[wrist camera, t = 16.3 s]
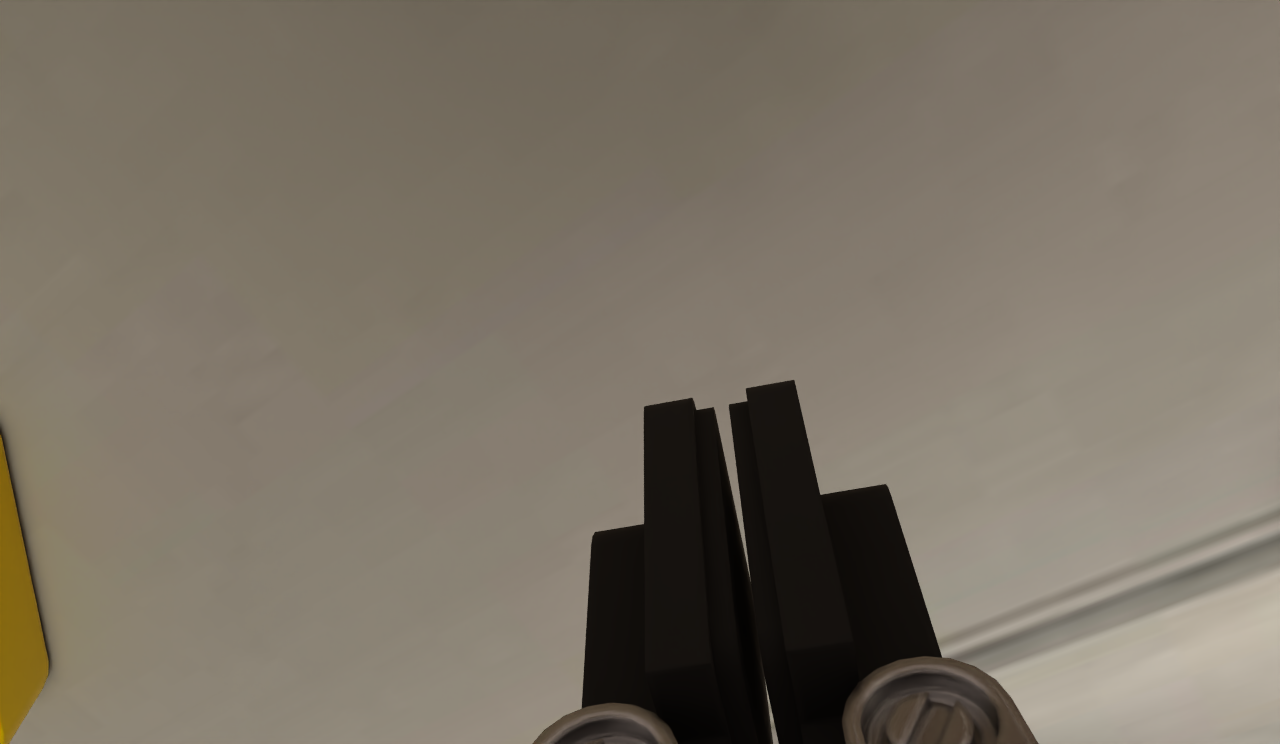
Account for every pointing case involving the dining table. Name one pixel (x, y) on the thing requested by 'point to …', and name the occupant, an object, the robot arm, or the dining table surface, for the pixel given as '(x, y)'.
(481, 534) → the dining table surface
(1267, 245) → the dining table surface
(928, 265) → the dining table surface
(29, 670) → the element tile
